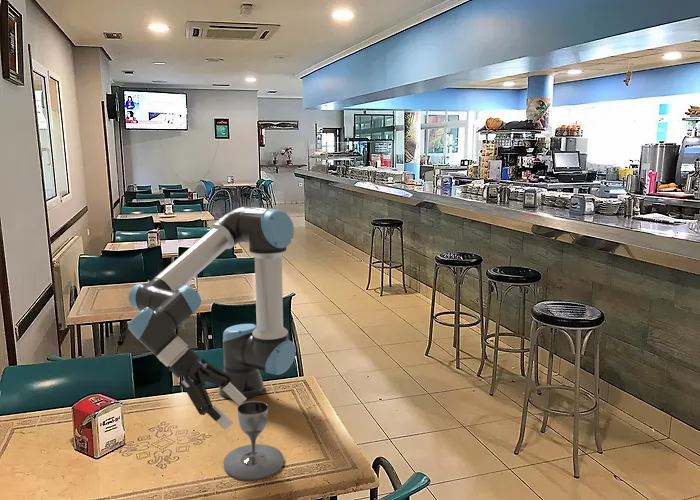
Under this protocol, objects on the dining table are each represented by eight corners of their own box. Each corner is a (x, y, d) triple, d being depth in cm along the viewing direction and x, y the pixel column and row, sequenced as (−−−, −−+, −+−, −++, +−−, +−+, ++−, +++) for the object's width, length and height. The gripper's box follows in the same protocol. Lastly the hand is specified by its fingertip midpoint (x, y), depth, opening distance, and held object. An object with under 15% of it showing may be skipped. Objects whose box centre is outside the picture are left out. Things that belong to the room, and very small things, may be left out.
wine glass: (262, 468, 152) (261, 416, 149) (234, 465, 154) (232, 412, 151) (272, 453, 160) (272, 402, 157) (245, 449, 161) (244, 399, 158)
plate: (239, 443, 166) (239, 440, 166) (292, 452, 162) (292, 449, 162) (212, 474, 151) (212, 470, 151) (269, 484, 147) (269, 481, 147)
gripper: (186, 349, 165) (238, 401, 166) (149, 386, 140) (212, 447, 142) (203, 332, 163) (256, 385, 165) (170, 367, 139) (233, 428, 141)
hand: (236, 413), depth 154 cm, fingers open, 13 cm apart
